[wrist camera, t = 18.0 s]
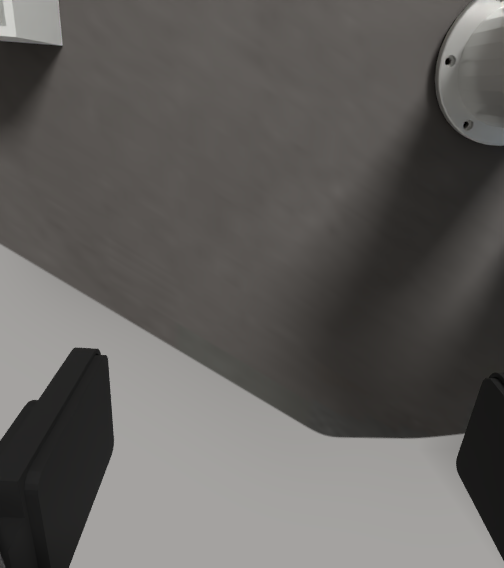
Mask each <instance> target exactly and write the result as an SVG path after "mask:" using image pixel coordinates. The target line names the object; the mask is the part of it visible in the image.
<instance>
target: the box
mask: <svg viewBox="0 0 504 568" xmlns="http://www.w3.org/2000/svg"><path fill="white" fill-rule="evenodd" d="M0 41H7V42H20V43H33V44H46V45H59V46H63V44H62V33H61V22H60V11H59V0H0Z"/></svg>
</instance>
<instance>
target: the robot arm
mask: <svg viewBox="0 0 504 568" xmlns="http://www.w3.org/2000/svg"><path fill="white" fill-rule="evenodd" d="M447 58H448V59H449V63H448V64H447V65H446V64H445V60H446V59H447ZM435 88H436V96H437V100H438V103H439V106H440V109H441V111H442V113H443V115H444V117H445V119H446V120H447V122H448V123H449V124H450V125H451V126H452V127H453V128H454V130H456V131H457V132H458V133H460V134H461V135H463V136H464V137H465V138H468V139H470V140H473V141H475V142H478V143H482V144H486V145H495V146H504V0H497V1H496V0H473V1H472V2H471V3H470V4H469V5H468V6H467V7H466V8H465V9H464V10H463V11H462V13H461V14H460V15H459V16H458V17H457V18H456V20H455V21H454V23H453V25H452V26H451V28H450V29H449V31H448V32H447V34H446V37H445V39H444V41H443V44H442V46H441V48H440V52H439V56H438V60H437V63H436V72H435ZM465 121H466V126H465V127H463V124H464V122H465ZM113 446H114V436H113V421H112V408H111V394H110V381H109V367H108V358H107V356H106V355H101V353H100V351H99V349H91V348H74V349H73V350H72V351H71V353H70V354H69V356H68V357H67V358H66V360H65V362H64V363H63V364H62V366H61V367H60V369H59V370H58V372H57V373H56V375H55V376H54V378H53V379H52V381H51V382H50V384H49V385H48V386H47V388H46V389H45V391H44V392H43V394H42V395H41V397H40V398H39V400H32V401H30V402H28V403H27V404H26V406H25V407H24V408H23V409H22V411H21V412H20V414H19V415H18V417H17V418H16V419H15V421H14V422H13V424H12V425H11V427H10V428H9V429H8V431H7V432H6V433H5V435H4V436H3V438H2V439H1V441H0V568H69V565H70V563H71V560H72V558H73V555H74V552H75V550H76V547H77V545H78V542H79V539H80V537H81V534H82V531H83V529H84V526H85V523H86V521H87V518H88V516H89V513H90V510H91V508H92V505H93V502H94V500H95V497H96V494H97V492H98V489H99V487H100V484H101V481H102V479H103V476H104V474H105V470H106V468H107V465H108V463H109V460H110V457H111V455H112V451H113ZM456 466H457V471H458V474H459V476H460V478H461V480H462V482H463V484H464V486H465V488H466V489H467V491H468V493H469V495H470V497H471V499H472V501H473V503H474V505H475V507H476V509H477V510H478V512H479V514H480V516H481V518H482V520H483V522H484V524H485V526H486V528H487V530H488V531H489V533H490V535H491V537H492V539H493V541H494V543H495V545H496V547H497V549H498V551H499V553H500V555H501V556H502V558H503V560H504V373H493V374H492V375H491V376H490V377H489V378H486V379H485V380H484V381H483V383H482V385H481V388H480V391H479V394H478V397H477V400H476V403H475V406H474V409H473V412H472V415H471V418H470V421H469V424H468V427H467V429H466V432H465V435H464V439H463V441H462V444H461V447H460V450H459V453H458V456H457V461H456Z"/></svg>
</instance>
